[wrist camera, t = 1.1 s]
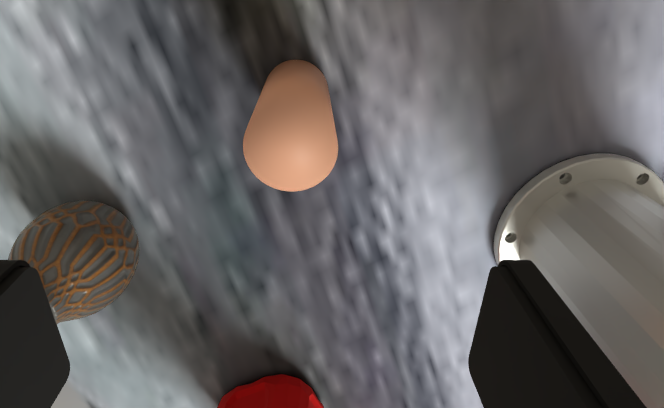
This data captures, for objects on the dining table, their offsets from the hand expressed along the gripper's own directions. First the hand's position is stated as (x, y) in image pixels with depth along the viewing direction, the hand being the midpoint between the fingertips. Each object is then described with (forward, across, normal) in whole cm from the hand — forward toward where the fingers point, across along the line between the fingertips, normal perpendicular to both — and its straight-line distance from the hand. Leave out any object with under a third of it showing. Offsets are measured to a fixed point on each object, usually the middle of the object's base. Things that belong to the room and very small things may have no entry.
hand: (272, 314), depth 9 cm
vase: (+20, +14, +10) cm, 27 cm away
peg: (+20, 0, 0) cm, 20 cm away
